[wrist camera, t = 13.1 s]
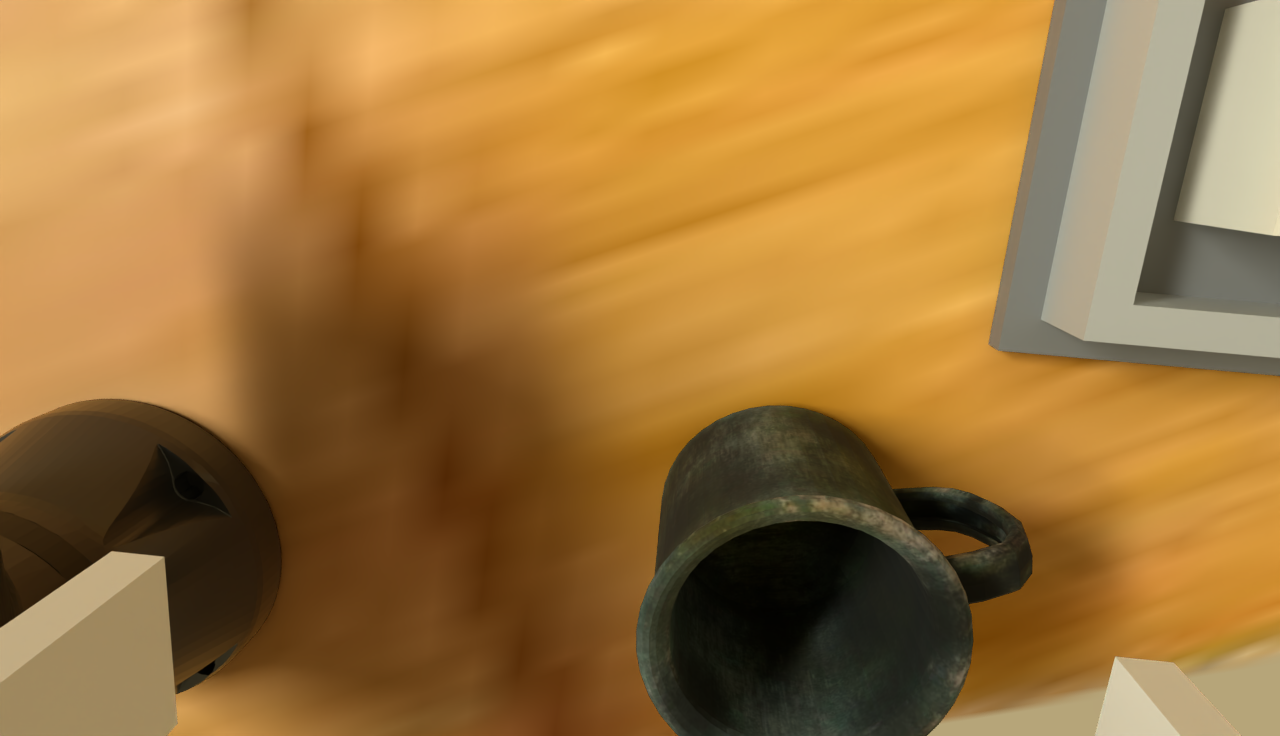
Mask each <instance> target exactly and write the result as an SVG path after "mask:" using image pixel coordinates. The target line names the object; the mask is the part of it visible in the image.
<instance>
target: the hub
mask: <svg viewBox="0 0 1280 736" xmlns="http://www.w3.org/2000/svg"><path fill="white" fill-rule="evenodd" d="M1174 221H1180V222H1187V223H1193V224H1200V225H1207V226H1213V227H1220V228H1226V229H1233V230H1240V231H1246V232H1253V233H1259V234H1266V235H1273V236H1280V0H1257V1H1253V2H1250V3H1246V4H1242V5H1238V6H1234V7H1231V8H1227V9H1225V12H1224V16H1223V20H1222V25H1221V29H1220V33H1219V37H1218V41H1217V45H1216V49H1215V53H1214V57H1213V61H1212V65H1211V69H1210V74H1209V78H1208V82H1207V86H1206V90H1205V94H1204V98H1203V102H1202V106H1201V110H1200V114H1199V118H1198V122H1197V127H1196V131H1195V135H1194V139H1193V143H1192V147H1191V151H1190V155H1189V159H1188V163H1187V167H1186V171H1185V176H1184V180H1183V184H1182V188H1181V192H1180V196H1179V200H1178V204H1177V208H1176V212H1175V216H1174Z"/></svg>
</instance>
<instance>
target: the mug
mask: <svg viewBox="0 0 1280 736" xmlns="http://www.w3.org/2000/svg"><path fill="white" fill-rule="evenodd" d="M918 530H944V531H953V532H958V533H961V534H964V535H967V536H971V537H973V538H975V539H977V540H979V541H981V542H983V543H985V544H987V545H989V547H986V548H983V549H979V550H976V551H973V552H967V553H962V554H956V555H951V556H944V555H943V553H942V552H941V551H940V550H939V549H938V548H937V547H936V546H935V545H934V544H933V543H932V542H931V541H930V540H929V539H928V538H927V537H926V536H925V535H923V534H922V533H921V532H919V531H918ZM1032 557H1033V556H1032V553H1031V549H1030V545H1029V542H1028V538H1027V536H1026V533H1025V531H1024V528H1023V526H1022V523H1021V522H1020V521H1019V520H1017V519H1016V518H1015V517H1014V516H1012V515H1011V514H1010V513H1008V512H1007V511H1006V510H1004V509H1003V508H1002V507H1000V506H998V505H996V504H994V503H992V502H990V501H987V500H985V499H983V498H981V497H979V496H976V495H974V494H972V493H968V492H965V491H961V490H957V489H953V488H940V487H921V488H903V489H892V488H891V486H890V484H889V483H888V481H887V479H886V477H885V476H884V474H883V472H882V470H881V469H880V467H879V465H878V464H877V462H876V460H875V458H874V457H873V455H872V454H871V452H870V451H869V450H868V448H867V447H866V446H865V444H864V443H863V442H862V441H861V440H860V439H859V438H858V437H857V436H856V435H855V434H854V433H853V432H852V431H850V430H849V429H848V428H846V427H845V426H843V425H842V424H840V423H839V422H838V421H835V420H833V419H831V418H829V417H827V416H825V415H823V414H821V413H817V412H814V411H811V410H808V409H804V408H798V407H791V406H763V407H756V408H750V409H746V410H743V411H739V412H736V413H733V414H730V415H728V416H726V417H724V418H721V419H719V420H717V421H715V422H714V423H712V424H711V425H709V426H708V427H706V428H705V429H703V430H702V431H701V432H699V433H698V434H697V435H696V436H695V437H694V438H693V439H692V440H690V441H689V442H688V444H687V445H686V446H685V447H684V449H683V450H682V451H681V452H680V453H679V455H678V456H677V458H676V460H675V462H674V463H673V465H672V467H671V469H670V471H669V474H668V477H667V479H666V482H665V486H664V491H663V496H662V504H661V515H660V525H659V536H658V546H657V556H656V567H655V576H654V578H653V580H652V581H651V583H650V585H649V587H648V589H647V592H646V594H645V597H644V600H643V602H642V605H641V608H640V613H639V618H638V624H637V629H636V652H637V657H638V663H639V668H640V673H641V676H642V679H643V681H644V684H645V687H646V689H647V692H648V694H649V697H650V698H651V700H652V702H653V703H654V705H655V707H656V709H657V710H658V712H659V714H660V715H661V716H662V718H663V719H664V720H665V721H666V722H667V724H668V725H669V726H670V727H671V728H672V730H673V731H674V732H675V733H676V734H677V735H678V736H927V735H928V734H929V733H930V732H931V731H932V730H933V729H934V728H935V727H936V726H937V725H938V724H939V723H940V722H941V721H942V719H943V718H944V717H945V715H946V714H947V713H948V711H949V710H950V709H951V707H952V706H953V704H954V703H955V701H956V699H957V697H958V695H959V693H960V691H961V689H962V687H963V685H964V682H965V679H966V676H967V673H968V670H969V666H970V663H971V655H972V647H973V629H972V615H971V611H970V607H969V604H972V603H977V602H983V601H986V600H989V599H992V598H996V597H999V596H1002V595H1005V594H1009V593H1012V592H1015V591H1017V590H1019V589H1021V587H1022V586H1023V585H1024V583H1025V582H1026V581H1027V579H1028V578H1029V577H1030V575H1031V574H1032Z"/></svg>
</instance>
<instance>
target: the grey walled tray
mask: <svg viewBox="0 0 1280 736" xmlns="http://www.w3.org/2000/svg"><path fill="white" fill-rule="evenodd" d="M1253 1H1257V0H1055V2H1054V7H1053V12H1052V18H1051V23H1050V28H1049V33H1048V38H1047V43H1046V49H1045V54H1044V59H1043V64H1042V69H1041V75H1040V80H1039V85H1038V90H1037V95H1036V101H1035V106H1034V111H1033V116H1032V121H1031V127H1030V132H1029V137H1028V142H1027V147H1026V153H1025V158H1024V163H1023V168H1022V173H1021V178H1020V184H1019V189H1018V194H1017V199H1016V204H1015V210H1014V215H1013V220H1012V225H1011V230H1010V236H1009V241H1008V246H1007V251H1006V256H1005V262H1004V267H1003V272H1002V277H1001V282H1000V288H999V293H998V298H997V303H996V308H995V313H994V319H993V324H992V329H991V334H990V339H989V345H991V346H992V347H994V348H995V349H997V350H998V351H1009V352H1020V353H1031V354H1042V355H1053V356H1064V357H1076V358H1087V359H1098V360H1109V361H1120V362H1131V363H1142V364H1154V365H1165V366H1176V367H1187V368H1198V369H1209V370H1220V371H1232V372H1243V373H1254V374H1265V375H1276V376H1280V236H1273V235H1266V234H1259V233H1253V232H1246V231H1240V230H1233V229H1226V228H1220V227H1213V226H1207V225H1200V224H1193V223H1187V222H1180V221H1174V216H1175V212H1176V208H1177V204H1178V200H1179V196H1180V192H1181V188H1182V184H1183V180H1184V176H1185V171H1186V167H1187V163H1188V159H1189V155H1190V151H1191V147H1192V143H1193V139H1194V135H1195V131H1196V127H1197V122H1198V118H1199V114H1200V110H1201V106H1202V102H1203V98H1204V94H1205V90H1206V86H1207V82H1208V78H1209V74H1210V69H1211V65H1212V61H1213V57H1214V53H1215V49H1216V45H1217V41H1218V37H1219V33H1220V29H1221V25H1222V20H1223V16H1224V12H1225V9H1227V8H1231V7H1234V6H1238V5H1242V4H1246V3H1250V2H1253Z"/></svg>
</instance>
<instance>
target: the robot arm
mask: <svg viewBox="0 0 1280 736" xmlns="http://www.w3.org/2000/svg"><path fill="white" fill-rule="evenodd" d="M280 574H281V550H280V543H279V536H278V532H277V528H276V524H275V521H274V518H273V515H272V513H271V510H270V508H269V505H268V503H267V501H266V499H265V497H264V495H263V493H262V492H261V490H260V488H259V486H258V485H257V483H256V482H255V480H254V479H253V477H252V476H251V474H250V473H249V472H248V470H247V469H246V468H245V467H244V465H243V464H242V463H241V462H240V461H239V460H238V459H237V457H236V456H235V455H234V454H233V453H232V452H231V451H230V450H229V449H227V448H226V447H225V446H224V445H223V444H222V443H221V442H220V441H218V440H217V439H216V438H214V437H213V436H212V435H211V434H209V433H208V432H206V431H205V430H203V429H202V428H200V427H199V426H197V425H195V424H194V423H192V422H190V421H189V420H187V419H185V418H183V417H181V416H179V415H176V414H174V413H172V412H169V411H167V410H164V409H161V408H158V407H155V406H152V405H148V404H144V403H140V402H135V401H128V400H117V399H97V400H88V401H82V402H77V403H73V404H69V405H66V406H63V407H60V408H57V409H55V410H53V411H50V412H48V413H45V414H43V415H40V416H38V417H36V418H33V419H31V420H28V421H26V422H24V423H22V424H20V425H18V426H16V427H14V428H13V429H11V430H9V431H8V432H6V433H5V434H3V435H2V436H0V736H167V735H168V734H169V732H170V731H171V730H172V729H173V728H174V727H175V726H176V725H177V724H178V723H177V710H176V697H175V695H176V694H178V693H180V692H183V691H186V690H188V689H190V688H192V687H194V686H196V685H198V684H200V683H201V682H203V681H205V680H207V679H208V678H210V677H211V676H213V675H214V674H216V673H217V672H218V671H219V670H221V669H222V668H223V667H224V666H226V665H227V664H228V663H229V662H230V661H231V660H232V659H233V658H234V657H235V656H236V655H237V654H238V653H239V652H240V650H241V649H242V648H243V647H244V646H245V645H246V644H247V643H248V642H249V641H250V640H251V638H252V637H253V636H254V635H255V634H256V633H257V631H258V630H259V629H260V628H261V626H262V625H263V623H264V622H265V620H266V618H267V617H268V615H269V613H270V611H271V609H272V606H273V604H274V601H275V598H276V595H277V591H278V587H279V582H280ZM1095 736H1241V735H1240V734H1239V732H1238V731H1236V729H1235V728H1234V727H1233V726H1232V725H1231V724H1230V723H1229V722H1228V721H1227V719H1225V717H1224V716H1223V715H1222V714H1221V713H1220V712H1219V711H1218V710H1217V709H1216V708H1215V707H1214V705H1213V704H1212V703H1211V702H1210V701H1209V700H1208V699H1207V698H1206V697H1205V696H1204V695H1203V694H1202V693H1201V691H1200V690H1199V689H1198V688H1197V687H1196V686H1195V685H1194V684H1193V683H1192V682H1191V681H1190V680H1189V679H1188V677H1187V676H1186V675H1185V674H1184V673H1183V672H1182V671H1181V670H1180V669H1179V668H1178V667H1177V666H1176V665H1175V663H1172V662H1163V661H1153V660H1144V659H1134V658H1125V657H1115V659H1114V663H1113V667H1112V671H1111V675H1110V679H1109V683H1108V686H1107V690H1106V694H1105V698H1104V702H1103V706H1102V710H1101V713H1100V717H1099V721H1098V725H1097V729H1096V733H1095Z"/></svg>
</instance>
